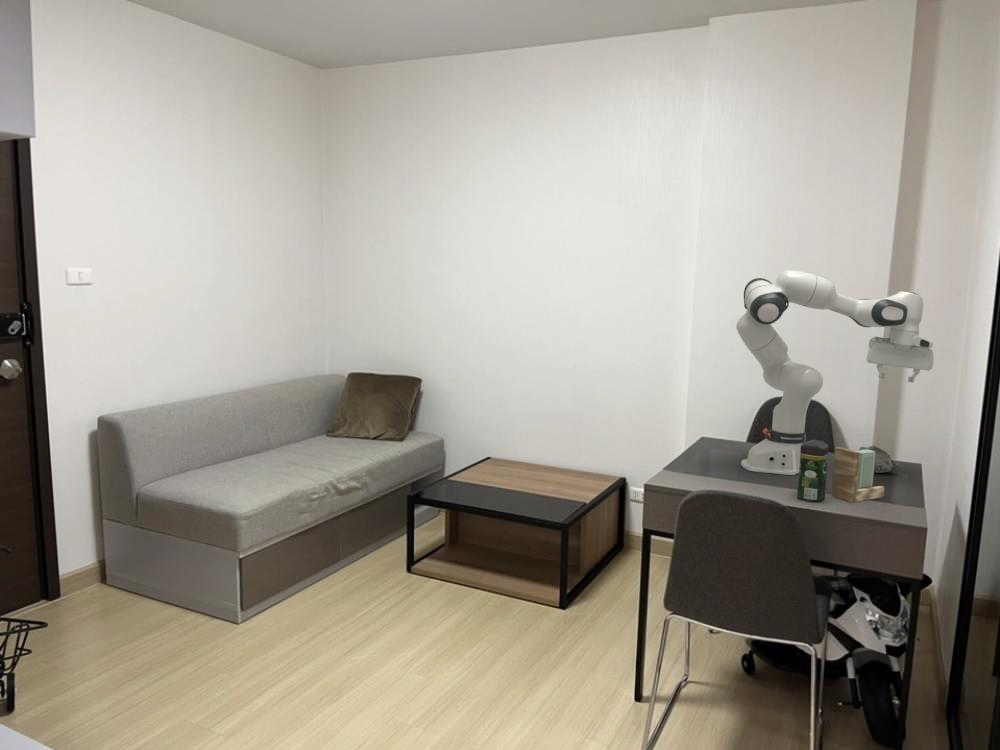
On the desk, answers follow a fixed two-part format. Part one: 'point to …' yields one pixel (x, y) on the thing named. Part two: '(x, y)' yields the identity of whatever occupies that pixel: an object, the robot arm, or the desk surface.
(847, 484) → the track
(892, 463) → the mineral rock
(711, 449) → the desk surface
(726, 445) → the desk surface
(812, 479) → the coffee jar
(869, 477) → the mint green rectangular block
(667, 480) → the desk surface
